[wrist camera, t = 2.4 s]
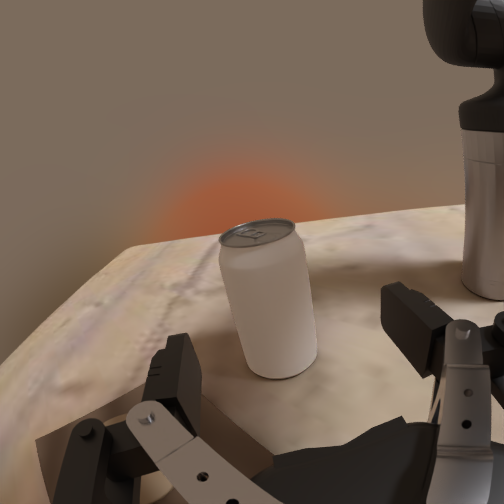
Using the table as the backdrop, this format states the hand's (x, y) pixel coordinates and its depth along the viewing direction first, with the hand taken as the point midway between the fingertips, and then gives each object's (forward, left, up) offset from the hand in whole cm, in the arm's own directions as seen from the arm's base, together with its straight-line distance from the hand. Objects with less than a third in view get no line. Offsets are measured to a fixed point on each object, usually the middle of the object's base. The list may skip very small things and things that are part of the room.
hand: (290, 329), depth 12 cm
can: (-7, -9, -11) cm, 16 cm away
